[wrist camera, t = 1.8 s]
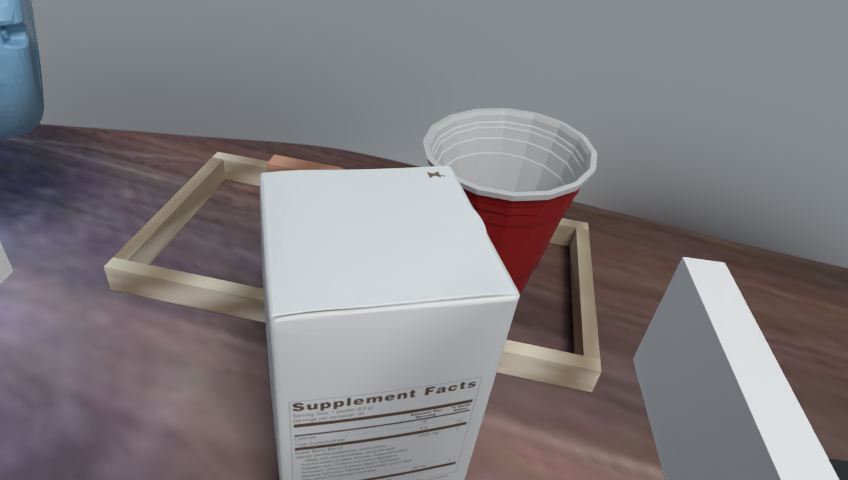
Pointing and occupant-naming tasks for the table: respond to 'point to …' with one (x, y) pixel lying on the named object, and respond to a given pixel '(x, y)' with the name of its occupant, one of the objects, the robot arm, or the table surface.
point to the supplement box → (379, 322)
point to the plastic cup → (514, 176)
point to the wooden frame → (244, 301)
